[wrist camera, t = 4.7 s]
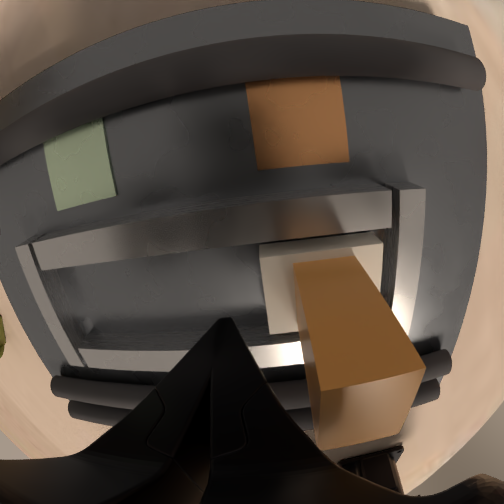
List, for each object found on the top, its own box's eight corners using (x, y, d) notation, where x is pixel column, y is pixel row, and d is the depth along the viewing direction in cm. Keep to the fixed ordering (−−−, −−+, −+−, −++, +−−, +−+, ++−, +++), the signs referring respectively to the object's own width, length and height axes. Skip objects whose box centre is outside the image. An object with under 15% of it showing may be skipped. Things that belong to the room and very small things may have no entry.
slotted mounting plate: (460, 58, 7) (482, 54, 5) (426, 387, 13) (435, 404, 12) (-24, 154, 8) (-43, 159, 7) (83, 407, 15) (76, 422, 14)
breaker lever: (368, 303, 11) (430, 427, 5) (269, 316, 11) (274, 460, 5) (371, 231, 10) (470, 342, 4) (259, 244, 10) (259, 387, 4)
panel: (423, 375, 16) (440, 409, 13) (91, 397, 17) (76, 428, 14) (444, 35, 8) (484, 20, 5) (-11, 126, 10) (-51, 133, 7)
